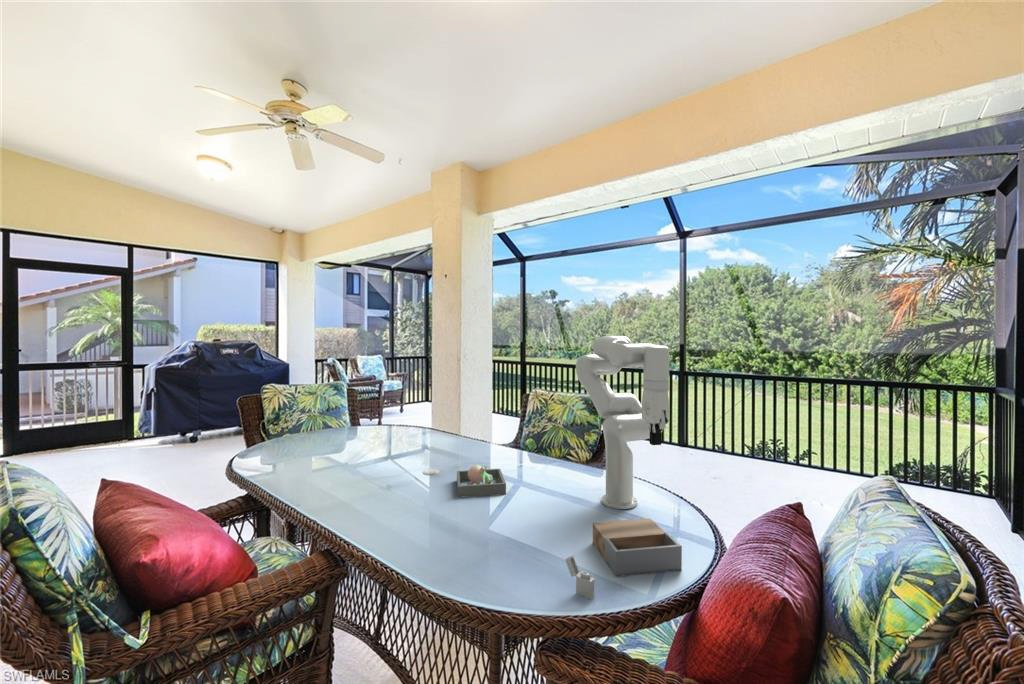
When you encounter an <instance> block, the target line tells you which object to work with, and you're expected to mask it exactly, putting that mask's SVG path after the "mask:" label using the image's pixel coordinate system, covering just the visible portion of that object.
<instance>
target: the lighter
mask: <svg viewBox="0 0 1024 684" xmlns="http://www.w3.org/2000/svg"><path fill="white" fill-rule="evenodd" d="M564 560H565V562H566V566H567V568H568V570H569V573H570V576H571V577H575V581H576V583H575V586H576V587H575V590H576V592H575V593H576V595H578V596H581V597H584V598H586V599H589V600H593V599H594V598H595V578H594V577H591V575H590V573H589V572H587V571H583V570H582V571H581V572H580V570H579V568H578V565H577V563H576V560H575V557H574V556H573V555H569V556H567V557H566V558H565V559H564Z"/></svg>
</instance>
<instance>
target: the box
mask: <svg viewBox="0 0 1024 684" xmlns="http://www.w3.org/2000/svg"><path fill="white" fill-rule="evenodd" d="M682 552H683V547H682V545H681V544H680V543H679V542H678V541H677V540H676V539H675V538H674V537H673V536H672V535H671V534H670V533H669V532H668V531H664V546H658V547H646V548H635V549H623V550H617V549H616V547H615V546H614V545H613V543H612V542H611V541H610V540H609V538H608V537H605V560H604V562H605V563H606V565H607V567H608V568H609V569H610V570H611V572H612V574H613V575H614V577H616V578H618V577H628V576H636V575H648V574H649V575H650V574H658V573H660V574H661V573H668V572H678V571H679V572H680V571H682V568H683V567H682V559H683V557H682V555H683V554H682Z"/></svg>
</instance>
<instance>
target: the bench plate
mask: <svg viewBox="0 0 1024 684" xmlns="http://www.w3.org/2000/svg"><path fill="white" fill-rule="evenodd" d="M664 532H665V531H664V530H663V529H662V527H660V526H659V525H658V524H657V523H656V522H655V521H654V520H653V519H652V518H650V517H649V518H642V519H641V518H640V519H627V520H613V521H601V522H599V521H598V522H592V544H593V545H594V547H595V549H596V550H597V551H598V553H599V555H600V556H601V557H602V559H603V561H605V537H608V538H609V540H610V541H611V542H612V543H613V545H614V546H615V547H616V549H617V550H623V549H635V548H646V547H658V546H664Z"/></svg>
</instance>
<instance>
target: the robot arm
mask: <svg viewBox="0 0 1024 684" xmlns="http://www.w3.org/2000/svg"><path fill="white" fill-rule="evenodd" d="M592 351H593V353H589V354H584V355H581V356H579V357H578V358H577V360H576V362H575V371H576V376H577V379H578V381H579V383H580V384H581V386H582V387H583V388H584V389H585V391H586V392H587V394H588V395H589V397H590V399H591V401H592V404H593V406H594V407H595V409H596V412H597V413H598V415H599V416H600V417H601V418H602V419H604V420H603V423H602V431H603V438H604V445H605V494H603V495H602V496H601V499H600V500H601V503H602V504H603V505H604V506H606V507H608V508H611V509H616V510H629V509H633V508H635V507H637V506H638V499H637V498H636V497H634V457H633V456H634V455H633V451H632V449H631V448H630V447H629V445H628V444H627V443H628V442H636V441H638V442H639V441H644V440H648V439H649V444H650V445H652V446H661V445H662V443H663V442H662V440H663V437H662V435H663V434H662V433H663V431H664V430H665V429H666V427H667V426H666V425H667V424H668V423H669V422H670V401H669V391H670V349H669V347H668V346H667V345H660V344H659V345H658V344H653V343H632V341H631V340H630V338H629V337H627V336H625V335H604V336H600V337H598V338H596V339H595V340H594V341H593V344H592ZM622 368H643V371H642V372H643V374H642V375H643V388H642V390H643V391H642V398H641V402H640V400H639V398H638V397H637V396H636V395H635V394H633V393H631V392H614V391H613V389H612V388H611V386H610V384H609V383H608V382H607V381H606V380H604V379H603V378H601V377H600V376H608V375H609V376H612V375H616V374H618V373H619V372H620V371H622Z"/></svg>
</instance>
